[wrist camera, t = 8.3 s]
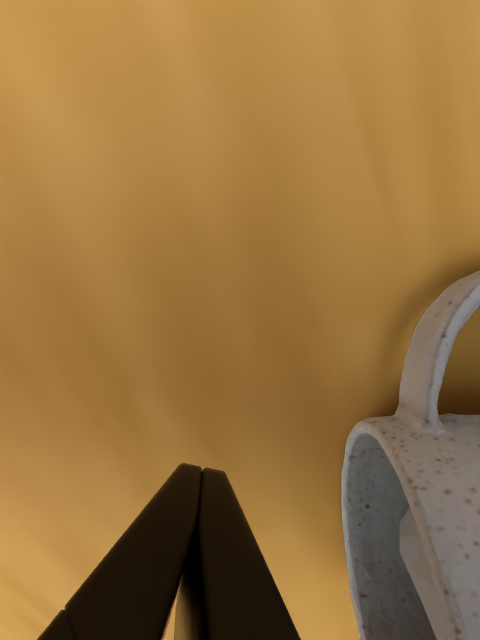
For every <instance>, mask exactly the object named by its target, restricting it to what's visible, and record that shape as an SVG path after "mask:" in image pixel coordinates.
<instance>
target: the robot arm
mask: <svg viewBox="0 0 480 640" xmlns="http://www.w3.org/2000/svg"><path fill="white" fill-rule="evenodd" d="M177 591H178V594H177ZM176 594H177V604H176V616H175V631H174V640H301V639H300V637H299V635H298V632H297V630H296V628H295V626H294V624H293V621H292V619H291V617H290V615H289V613H288V610H287V608H286V606H285V604H284V602H283V599H282V597H281V595H280V593H279V590H278V588H277V586H276V584H275V582H274V579H273V577H272V575H271V573H270V571H269V568H268V566H267V564H266V562H265V560H264V557H263V555H262V553H261V551H260V549H259V546H258V544H257V542H256V540H255V538H254V535H253V533H252V531H251V529H250V527H249V524H248V522H247V520H246V518H245V515H244V513H243V511H242V509H241V507H240V504H239V502H238V500H237V498H236V496H235V493H234V491H233V489H232V487H231V485H230V482H229V480H228V478H227V476H226V474H225V472H224V471H221V470H216V469H211V468H204V469H203V470H202V468H201V467H200V466H196V465H191V464H186V463H182V464H180V465H179V466H178V467H177V468H176V470H175V471H174V472H173V473H172V475H171V476H170V477H169V478H168V479H167V481H166V482H165V483H164V484H163V486H162V487H161V488H160V489H159V491H158V492H157V493H156V494H155V495H154V497H153V498H152V499H151V500H150V502H149V503H148V504H147V505H146V507H145V508H144V509H143V510H142V511H141V513H140V514H139V515H138V516H137V518H136V519H135V520H134V521H133V523H132V524H131V525H130V526H129V527H128V529H127V530H126V531H125V532H124V534H123V535H122V536H121V537H120V539H119V540H118V541H117V542H116V543H115V545H114V546H113V547H112V548H111V550H110V551H109V552H108V553H107V555H106V556H105V557H104V558H103V559H102V561H101V562H100V563H99V564H98V566H97V567H96V568H95V569H94V571H93V572H92V573H91V574H90V575H89V577H88V578H87V579H86V580H85V582H84V583H83V584H82V585H81V587H80V588H79V589H78V590H77V592H76V593H75V594H74V595H73V596H72V598H71V599H70V600H69V601H68V603H67V604H66V605H65V609H64V610H61V611H60V612H59V613H58V614H57V616H56V617H55V618H54V619H53V621H52V622H51V623H50V624H49V626H48V627H47V628H46V629H45V630H44V632H43V633H42V634H41V635H40V636H39V638H38V639H37V640H164V636H165V633H166V629H167V626H168V623H169V619H170V616H171V612H172V609H173V605H174V602H175V598H176Z"/></svg>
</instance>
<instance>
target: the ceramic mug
mask: <svg viewBox="0 0 480 640" xmlns="http://www.w3.org/2000/svg"><path fill="white" fill-rule="evenodd" d="M479 306H480V270H479V271H477V272H474V273H472V274H470V275H468V276H465V277H463V278H461V279H459V280H457V281H456V282H454V283H453V284H451V285H450V286H448V287H447V288H446V289H445V290H444V291H443V292H442V294H441V295H440V296H439V297H438V298H437V299H436V300H435V301H434V302H433V303H432V304H431V305H430V306H429V307H428V308H427V309H426V311H425V312H424V314H423V315H422V317H421V318H420V320H419V322H418V323H417V325H416V328H415V330H414V332H413V335H412V337H411V340H410V343H409V348H408V351H407V354H406V358H405V361H404V367H403V372H402V377H401V382H400V388H399V404H398V407H397V410H396V413H395V415H391V416H382V417H369V418H366V419H364V420H361V421H359V422H358V423H356V424H355V426H354V427H353V429H352V431H351V432H350V434H349V436H348V439H347V442H346V448H345V457H344V463H343V467H342V499H341V509H342V525H343V533H344V542H345V555H346V563H347V569H348V576H349V585H350V593H351V599H352V603H353V606H354V611H355V615H356V620H357V627H358V633H359V637H360V640H480V415H456V414H443V415H438V410H437V403H438V396H439V391H440V389H441V386H442V383H443V378H444V371H445V367H446V364H447V361H448V358H449V355H450V353H451V350H452V347H453V344H454V341H455V338H456V336H457V334H458V332H459V330H460V329H461V328H462V327H463V325H464V324H465V323H466V322H467V320H468V319H469V318H470V317H471V315H472V314H473V313H474V312H475V311H476V309H477V308H478V307H479Z"/></svg>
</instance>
